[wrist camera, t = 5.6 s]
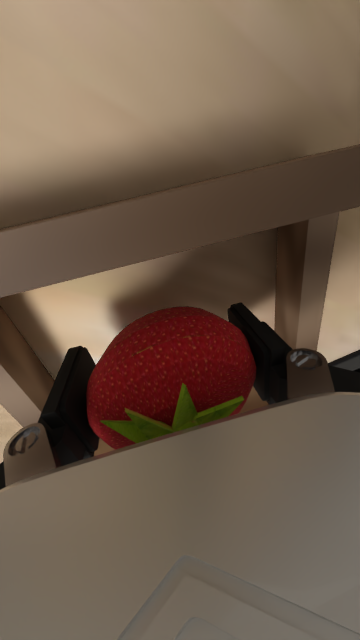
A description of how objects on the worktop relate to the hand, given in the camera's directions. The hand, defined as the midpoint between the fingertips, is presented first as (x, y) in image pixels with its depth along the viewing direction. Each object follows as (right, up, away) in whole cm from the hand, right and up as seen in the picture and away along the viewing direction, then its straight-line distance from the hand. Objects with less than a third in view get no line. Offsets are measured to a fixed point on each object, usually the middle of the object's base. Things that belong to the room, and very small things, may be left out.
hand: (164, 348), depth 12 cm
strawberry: (-1, +2, +3) cm, 3 cm away
